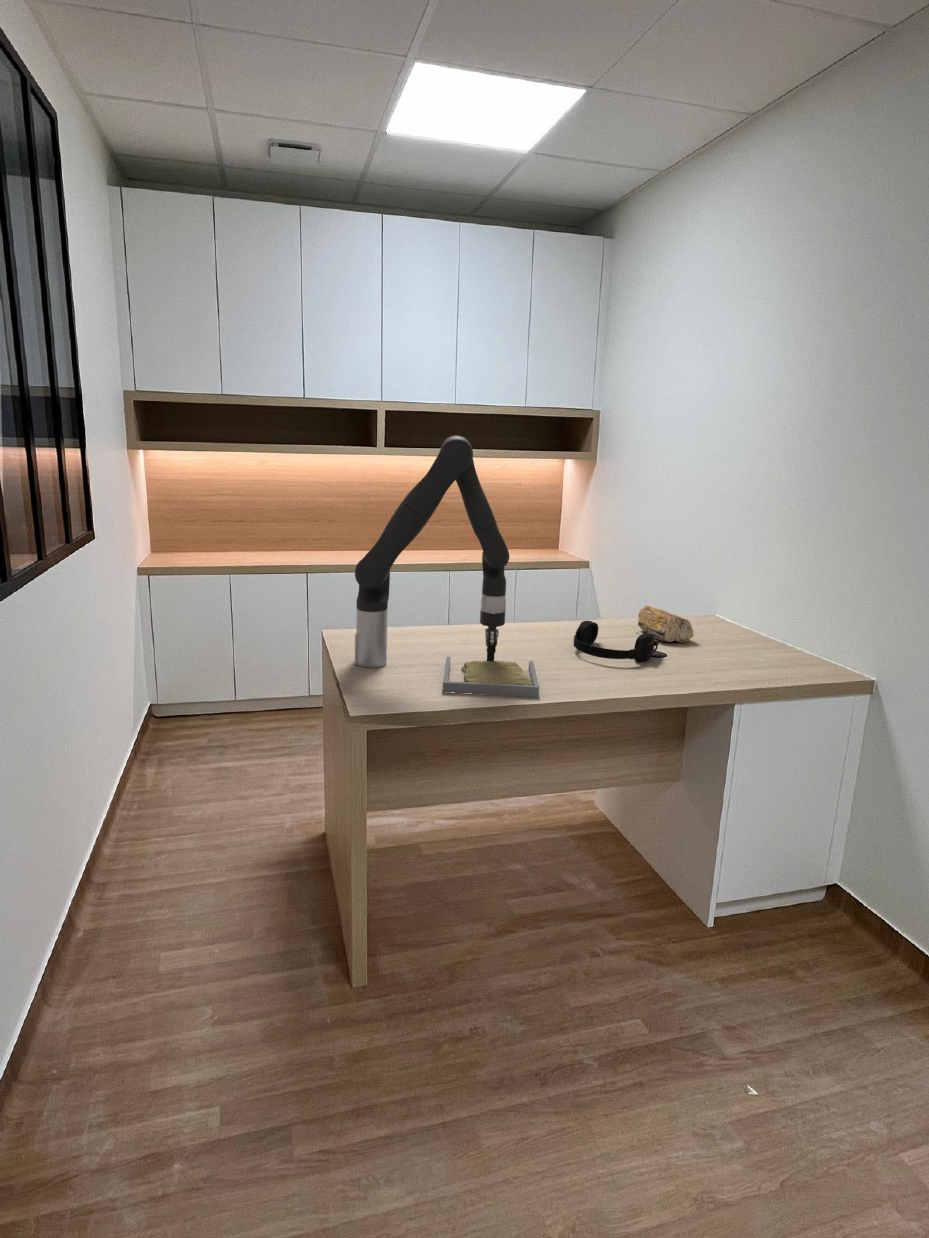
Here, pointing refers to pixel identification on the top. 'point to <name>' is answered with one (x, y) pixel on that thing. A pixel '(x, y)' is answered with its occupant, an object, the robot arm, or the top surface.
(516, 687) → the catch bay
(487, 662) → the decorative tile
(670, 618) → the petrified wood
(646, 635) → the headset
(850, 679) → the top surface
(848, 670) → the top surface
